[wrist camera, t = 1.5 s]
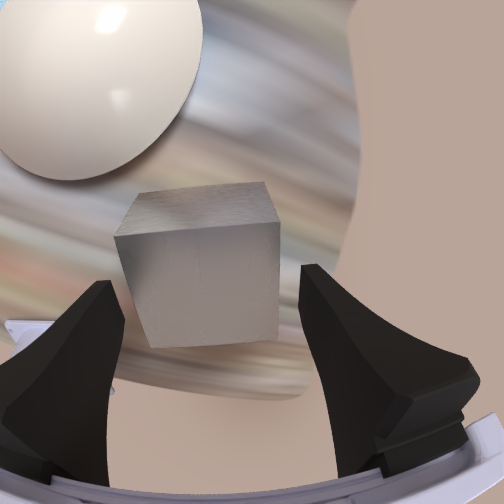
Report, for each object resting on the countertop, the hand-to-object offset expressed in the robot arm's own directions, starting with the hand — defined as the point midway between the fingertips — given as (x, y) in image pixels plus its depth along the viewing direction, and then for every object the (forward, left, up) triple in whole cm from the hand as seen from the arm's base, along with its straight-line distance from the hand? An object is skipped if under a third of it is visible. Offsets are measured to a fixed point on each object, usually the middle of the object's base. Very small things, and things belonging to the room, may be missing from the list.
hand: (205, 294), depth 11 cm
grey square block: (0, 0, -4) cm, 4 cm away
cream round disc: (+10, +6, -7) cm, 13 cm away
